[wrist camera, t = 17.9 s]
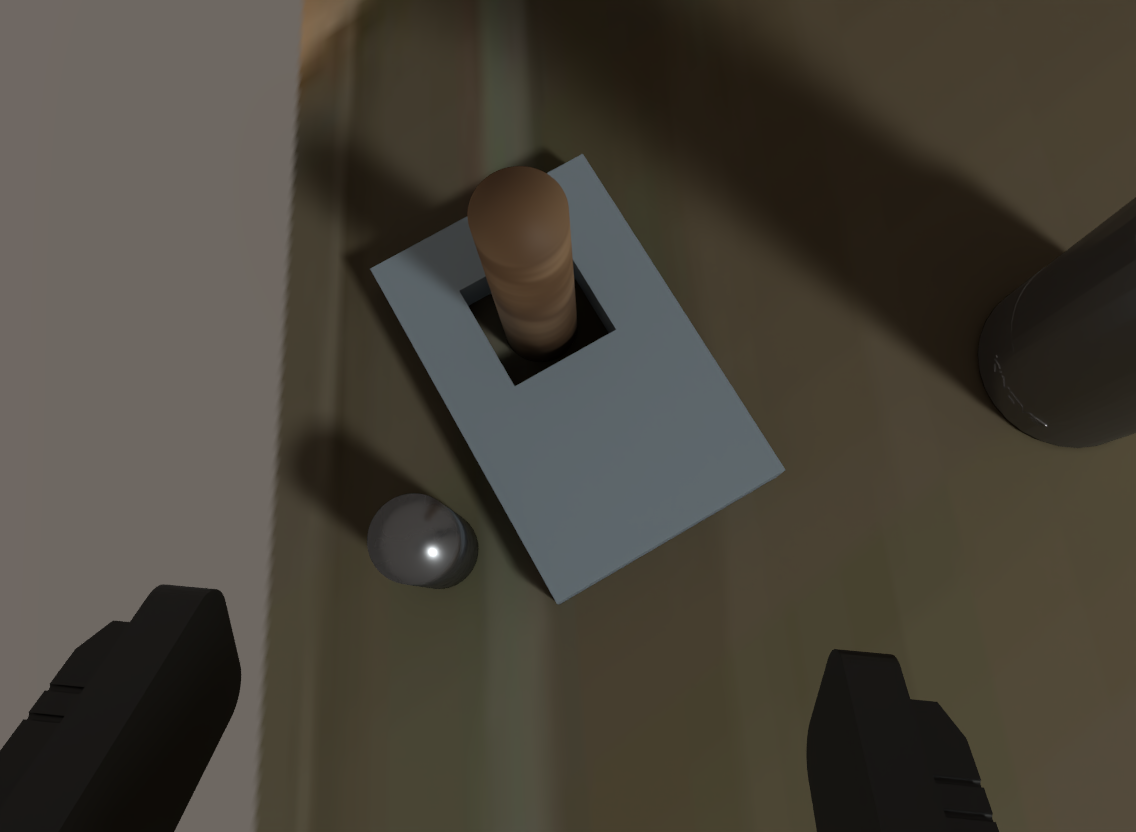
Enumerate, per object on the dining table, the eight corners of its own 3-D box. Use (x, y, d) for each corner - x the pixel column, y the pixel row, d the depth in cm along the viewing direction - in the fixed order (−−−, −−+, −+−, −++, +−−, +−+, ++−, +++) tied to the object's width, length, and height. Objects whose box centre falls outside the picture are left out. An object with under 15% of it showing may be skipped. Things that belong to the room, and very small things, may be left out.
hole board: (583, 176, 50) (582, 153, 48) (775, 477, 46) (785, 469, 43) (381, 285, 49) (370, 268, 46) (559, 604, 45) (557, 603, 42)
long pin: (554, 279, 49) (537, 149, 35) (591, 339, 48) (587, 229, 34) (491, 314, 48) (449, 196, 35) (527, 374, 48) (497, 278, 34)
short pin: (455, 497, 46) (431, 477, 39) (492, 564, 45) (473, 555, 39) (388, 535, 46) (351, 521, 39) (423, 603, 45) (392, 601, 38)
